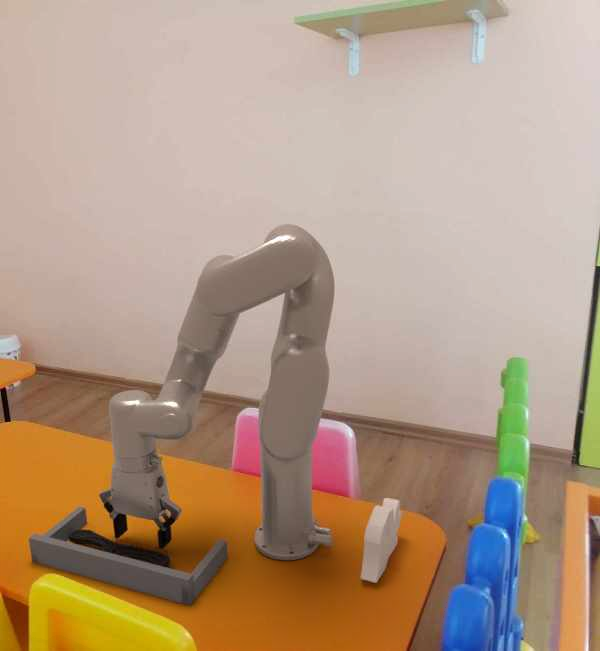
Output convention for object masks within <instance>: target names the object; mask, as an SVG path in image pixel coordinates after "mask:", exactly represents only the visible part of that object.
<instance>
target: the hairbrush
mask: <svg viewBox="0 0 600 651" xmlns="http://www.w3.org/2000/svg"><path fill="white" fill-rule="evenodd" d="M69 541H70V542H74V543H82V544H91V545H93V546H96V547H99V548H101V549H102V551H104V552H108V553H112V554H116V555H120V556H124V557H128V558H131V559H135V560H139V561H143V562H147V563H151V564H155V565H158V566H162V567H166V568H168V566H169V564H170V562H171V557H170V555H168V554H169V552H168V551H169V550H167V549H164V552H162V551H161V552H160V551H158V549H159V550H161V549H160V548H159V546H156V550H154V549H151V548H149V549H148V545H149V544H146V547H147V548H145V547H141V545H142V543H140V542H139V543H138V544H136V546H134V544H131V545H130V544H125V543H124V544H122V543H118V540H115V541H114V540H111V539H109V538H107V537H105V536H103V535H101V534H99V533H97V532H95V531H93V530H91V529H83V528H81V529H80V530H77V531H75V532H73V533H72V534H71V535H69ZM119 542H122V539H121V540H120V541H119ZM138 545H139V546H138Z"/></svg>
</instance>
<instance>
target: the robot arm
mask: <svg viewBox="0 0 600 651" xmlns="http://www.w3.org/2000/svg"><path fill="white" fill-rule="evenodd" d="M333 272H334V271H333V268H332V264H331V262H330V259H329V257H328V255H327V252H326V251H325V249H324V248H323V246H322V245H321V244H320V243H319V241H318V240H317V239H316V238H315V236H313V235H312V234H311V233H309V232H308V230H305V228H303V227H301V226H300V225H299V226H298V225H297V224H291V223H290V224H289V223H288V224H287V223H285V224H281V225H278V226H276V227H275V228H273V229H271V231H270V232H269V233H268V234H267V235H266V237H265V240H264V241H263V243H261V244H259V245H257V246H255V247H253V248H251V249H249V250H247V251H245V252H243V253H241V254H238V255H236V256H232V255H229V254H226V255H225V254H223V255H221V254H220V255H218V256H215V257H214V256H213V258H211V259H210V260H209V261H208V262H206V264H205V265H204V267H203V269H202V271H201V273H200V275H199V276H198V280H197V283H196V287H195V289H194V293H193V295H192V297H191V301H190V303H189V305H188V308H187V310H186V313H185V316H184V319H183V321H182V324H181V326H180V329H179V331H178V335H177V339H176V341H177V342H176V343H177V346H176V350H175V353H174V356H173V359H172V361H171V364H170V367H169V369H168V372H167V373H166V374H167V375H166V377H165V380H164V382H163V385H162V386H161V389H160V392H159V394H158V396H157V398H155V399H152V396H151V394H149V393H148V392H146V391H144V390H139V389H132V390H131V389H130V390H124V391H121V392H118V393H116V394H114V395H113V396H112V397H111V398H110V400H109V404H108V412H109V420H110V421H109V422H110V431H111V441H112V442H111V443H112V450H113V452H112V453H113V460H114V463H113V464H112V467H111V472H110V473H111V474H110V487H109V488H106V489H103V491H101V492H100V493H99V495H98V496H99V499H100V500H101V502H102V504H103V508H104V509H105V511H106V512H108V513H109V516H108V517H109V518H110V520H112V522H113V524H112V525H113V526H112V527H113V533H114V538H115V539H119V538H121V537H122V536H123V535H125V533H126V532H128V520H127V518H128V517H127V516H131V517H135V518H140V519H143V520H148V521H153V522H154V523H155V524H156V526H157V527H158V528H159V529H158V530H157V544H158V549H159V548H160V549H159V550H161V551H162V550H163V551H164V550H165V548H166V547H167V546H168V545H169V544H170V543H171V541H172V537H173V536H172V525H173V524H175V523H176V521H177V520H178V519H179V517H180V515H181V513H182V511H183V508H182V507H181V506H180V505H178V504H176V503H175V502H174V501H173V500H171V499H170V495H169V494H170V493H169V486H168V482H167V478H166V474H165V470H164V466H163V465H162V461H163V458H162V456H159V455H158V453H157V452H158V451H157V442H156V439H159V440H166V441H167V440H168V441H178V440H181V439H183V438H186V437H188V435H189V434H190V433H191V431H192V430H193V427H194V424H195V420H196V417H197V412H198V409H199V405H200V402H201V398H202V397H203V393H204V391H205V388H206V386H207V383H208V380H209V378H210V376H211V373H212V370H213V369H214V367H215V364H216V363H217V361H218V360H219V359H220V358H221V357H222V356H223V355H224V353H226V352H225V351H226V350H227V347H228V345H229V343H230V339H231V337H232V334H233V332H234V330H235V327H236V324H237V321H238V319H239V316H240V315H241V313H245V312H246V311H248V310H251V309H253V308H256V307H258V306H260V305H262V304H265V303H266V302H268V301H271V300H273V299H275V298H277V297H279V296H281V295H282V296H283V295H284V296H283V297H284V298H283V301H282V302H283V303H282V308H281V314H280V320H279V325H278V329H277V333H276V338H275V341H274V344H273V347H272V351H271V355H270V356H271V357H270V375H269V382H268V388H267V389H266V390H265V392H264V393H263V394H262V395H261V399H260V401H259V406H258V439H259V446H260V448H259V450H260V451H259V452H260V488H261V489H260V490H261V491H260V492H261V495H260V496H261V524H260V525H259V526H258V528H257V529H256V530H255V533H254V545H255V547H256V549H257V550H258V551H259V553H261V554H263V555H264V556H265V557H268V558H271V559H274V560H279V561H280V560H281V561H293V560H295V561H296V560H298V559H302V558H307V557H308V556H309V555H311V554H313V553H314V552H316V550H317V549H318V548H319V546H320V545H321V546H326V547H332V546H333V542H334V536H333V535H331V528H330V527H323V526H320V525H319V524H318V517H317V516H314V515H313V445H314V443H315V441H316V437H317V435H318V434H317V433H318V432H319V431H318V430H319V427H320V423H321V418H322V415H323V410H324V406H325V402H326V399H327V398H326V397H327V393H328V388H329V381H330V366H329V360H328V358H327V352H326V344H327V339H328V333H329V328H330V324H331V317H332V312H333V305H334V301H335V300H334V299H335V277H334V273H333ZM169 513H170V514H169ZM162 518H163V519H162ZM163 520H164V521H163Z"/></svg>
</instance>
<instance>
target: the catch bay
mask: <svg viewBox="0 0 600 651" xmlns="http://www.w3.org/2000/svg"><path fill="white" fill-rule="evenodd" d="M85 524H86V525H87V524H88V518H87V508H86V507H83V506H78V507H77V508H76V509H74V510H73V511H72V512H70V513H69V514H67V515H66V516H65V517H64V518H63V519H61V520H60V521H59V522H58V523H56V524H55V525H53V526H52V527H51V528H50V529H49V530H48V531H46V532H45V533H43V534H40V533H39V534H38V533H33V534H32V535H31V536H29V537H28V543H29V549H30V557H31V562H32V563H34V564H35V563H36V564H39V565H42V566H46V567H49V568H53V569H57V570H60V571H64V572H69V573H71V574H75V575H79V576H82V577H86V578H90V579H92V580H96V581H100V582H104V583H107V584H111V585H113V586H118V587H122V588H125V589H129V590H131V591H136V592H139V593H143V594H147V595H150V596H154V597H157V598H161V599H165V600H168V601H172V602H175V603H180V604H182V605H186V606H191V605H192V604H193V603H194V601H195V600H196V599H197V598H198V596H200V594H201V592H202V591H203V590H204V588H205V587H206V586H207V585H208V583H209V582H210V581H211V579H212V578H213V577H215V576H214V575H215V574H216V573H217V572H218V571H219V569H220V568H221V567H222V565H223V564H224V562H225V561H226V560H227V559H228V541H227V540H225V539H221V538H219V539H218V540H217V541H216V543H215V544H214V545H213V546H212V547H211V549H210V550H209V551H208V553H206V555H205V556H204V558H202V560H201V561H200V562H199V563H198V565H197V566H196V567H195V568H194V569H193V571H192V572H191V573H189V572H185V571H181V570H177V569H173V568H171V567H162V566H158V565H155V564H151V563H147V562H143V561H139V560H135V559H131V558H128V557H124V556H120V555H116V554H112V553H108V552H104V551H103V550H100V549H96V548H92V547H89V546H85V545H81V544H77V543H75V542H74V543H72V542H71V541H70V542H69V541H68V540H70V538H69V535H71V534H72V533H73V532H75V531H77V530H79V529H80V530H81V529H83V527H84V526H86V525H85Z"/></svg>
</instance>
